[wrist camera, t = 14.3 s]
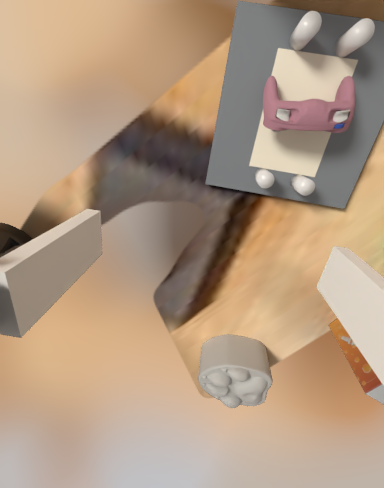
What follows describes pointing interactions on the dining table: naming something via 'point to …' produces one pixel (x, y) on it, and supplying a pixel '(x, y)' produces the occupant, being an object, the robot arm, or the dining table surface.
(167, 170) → the dining table surface
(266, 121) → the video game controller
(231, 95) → the docking tray
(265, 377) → the lumpy-topped squat cylinder
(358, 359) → the small box
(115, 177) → the dining table surface
